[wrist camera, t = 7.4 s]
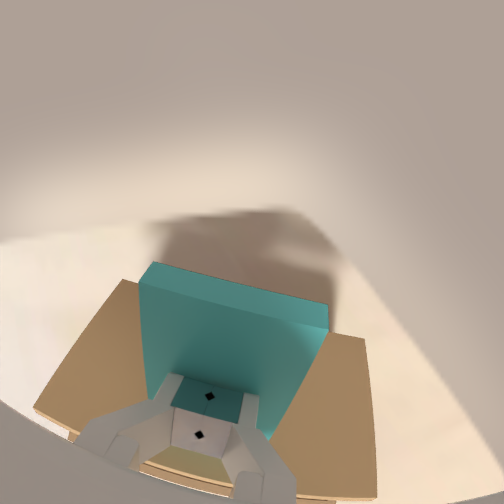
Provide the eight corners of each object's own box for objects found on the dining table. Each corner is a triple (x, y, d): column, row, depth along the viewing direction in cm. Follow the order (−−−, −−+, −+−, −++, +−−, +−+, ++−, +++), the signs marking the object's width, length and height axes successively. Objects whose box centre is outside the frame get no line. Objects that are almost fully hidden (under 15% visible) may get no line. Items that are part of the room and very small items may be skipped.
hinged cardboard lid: (36, 412, 12) (-39, 256, 7) (123, 285, 22) (121, 152, 17) (371, 500, 11) (512, 395, 6) (361, 344, 21) (422, 223, 16)
